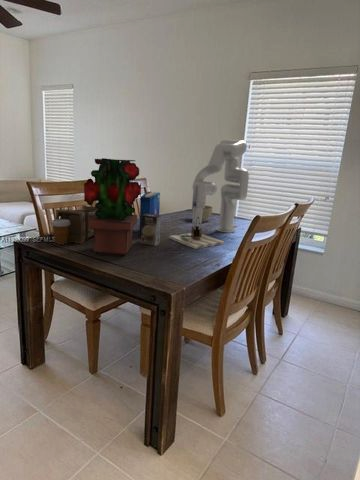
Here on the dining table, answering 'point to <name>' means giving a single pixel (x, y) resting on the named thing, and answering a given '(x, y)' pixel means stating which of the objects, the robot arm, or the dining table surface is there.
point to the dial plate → (196, 241)
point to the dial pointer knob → (193, 234)
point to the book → (149, 205)
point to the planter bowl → (205, 213)
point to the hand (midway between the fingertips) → (196, 235)
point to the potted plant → (113, 205)
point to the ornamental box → (78, 222)
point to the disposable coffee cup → (61, 230)
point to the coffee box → (150, 229)
